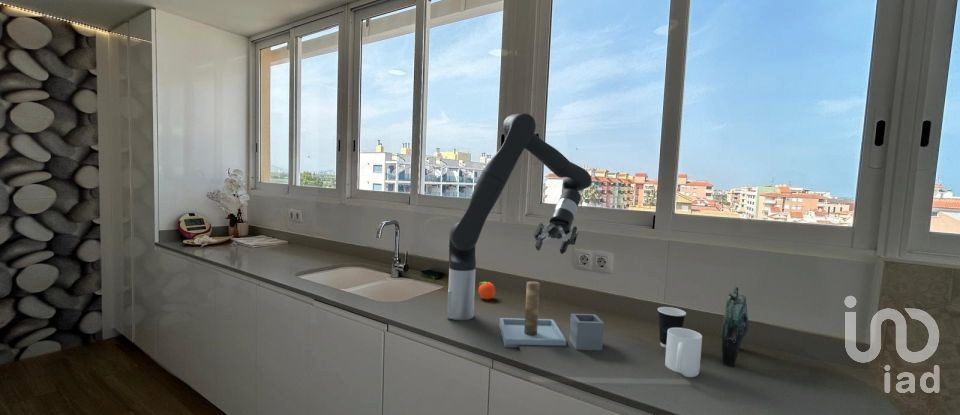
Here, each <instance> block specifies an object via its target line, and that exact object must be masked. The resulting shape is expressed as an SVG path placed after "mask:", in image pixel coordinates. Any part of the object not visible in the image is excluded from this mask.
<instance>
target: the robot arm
mask: <svg viewBox="0 0 960 415" xmlns="http://www.w3.org/2000/svg"><path fill="white" fill-rule="evenodd" d="M536 127H537V126H536V120H535V118H534V117H533V116H532V115H531V114H529V113H522V112H521V113H513V114H510V115H508V116H507V117H506V118H505V119H504V120H503V124H502V130H503V132H504V135H505V136H506V138H505V139H504V142H503V143H502V146H501V147H500V148H499V150H498V151H497V152H496V153H495V154H494V155H493V156H492V158H491V159H490V160H489V161H488V162H487V163H486V165H485V166H484V168H483V169H482V171H481V173H480V175H479V177H478V179H477V181H476V184H475V186H474V188H473V192H472V195H471V197H470V201H469V204H468V207H467V209H466V211H465V213H464V214H463V215H462V218H461V219H460V221H458V222H456V223H455V224H453V226H452V227H451V229H450V230H449V239H448V240H449V243H448V244H449V246H448V249H449V250H448V252H449V253H448V261H449V262H448V263H449V264H448V266H449V267H448V287H447V288H448V290H447V309H446V310H447V311H446V312H447V314H446V318H447V319H451V320H455V321H468V320H472V319H473V318H474V313H475V291H476V287H475V286H476V264H477V262H476V245H477V242H478V240H479V238H480V236H481V232H482V230H483V227H484V225H485V223H486V220H487V218H488V216H489V215H490V213H491V211H492V209H493V208H494V206H495V204H496V203H497V201H498V200H499V198H500V196H501V194H502V193H503V190H504V189H505V186H506V185H507V184H508V183H507V182H508V180H509V178H510V177H511V174H512V172H513V170H514V168H515V166H516V165H517V162H518V161H519V158H520V157H521V155H522V153H524V152H523V151H525V150H527V151H528V152H529V153H531V154H532V155H533V156H534V157H536V159H538V160H539V161H540V162H541V163H542V164H543V165H544V166H545V167H547V168H548V169H549V170H550V171H551V173H553V174H554V175H555V176H556V177H558V178H563V180H562V184H561V195H560V197H559V199H558V202H557V203H556V204H555V206H554V210H553V212H552V215H551V216H550V219H549V222H548V224H543V223H542V222H540V223H539V224H538V226H537V228H536V229H535V232H534V233H533V236H534V239H535V241H536V242H535V245H534V247H535V249H536V251H540V250H541V248H542V246H543V242H545V241H547V240H550V239H557V240H561V239H562V240H563V241H562V243H561V246H560V248H559V253H560V255H564V254H565V253H566V252H567V251H568V250H567V249H568V247H569V246H570V245H572V246H574V245H576V242H577V238H578V235H579V229H578V227H577V226H573V227H572V225H573V222H574V220H575V218H576V214H577V210H578V209H579V208H578V207H579V205H580V202H581V199H582V198H581V197H582V196H581V194H580V191H583V190H585V189H588V188H589V187H591V185H592V183H593V182H592V181H593V180H592V179H593V178H592V177H591V176H592V175H591V174H590V173H589V172H588V171H587V170H586V169H584V168H583V167H582V166H579V165H577V164H575V163H574V162H571V161H570V160H569V159H568V158H567V157H566V156H565V155H564V154H563V153H561V152H560V151H559V149H557V148H555V147H554V146H552V145H550V144H549V143H547V142H546V141H544V140H543V139H542V138H540V137H539V136H538V135H537V134H536V133H535V131H536ZM568 234H571V235H570V237H569V238H568V237H567V235H568Z"/></svg>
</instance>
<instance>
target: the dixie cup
mask: <svg viewBox="0 0 960 415" xmlns="http://www.w3.org/2000/svg"><path fill="white" fill-rule="evenodd" d="M657 312H658V329H659V331H658V332H659V333H658V334H659V343H660V346H661V347H662V348H665V349H666V344H667V331H668V329H669V328H684V327H683V326H684V322H685V317H686V315H687V312H686V311H685V310H682V309H680V308H676V307H670V306H660V307H658V308H657Z"/></svg>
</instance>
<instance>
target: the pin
mask: <svg viewBox="0 0 960 415" xmlns="http://www.w3.org/2000/svg"><path fill="white" fill-rule="evenodd" d="M540 285H541V284H540V282H538V281H535V280H533V281H532V280H531V281H526V290H525V291H526V292H525V308H524V309H525V310H524V319H525V328H524V333H525V334H526V335H531V336H533V335H537V325H538V319H539V306H540V304H539V302H540V287H541V286H540Z"/></svg>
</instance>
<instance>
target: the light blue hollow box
mask: <svg viewBox="0 0 960 415" xmlns="http://www.w3.org/2000/svg"><path fill="white" fill-rule="evenodd" d="M569 323H570V324H569V336H568V340H569V341H570V343H571V344H572V346H573V347H574V349H575V350H576V351H603V345H604V344H603V342H604V328H605V323H604V321H603V320H602V319H600V317H599V316H598V314H594V313H570V321H569Z"/></svg>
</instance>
